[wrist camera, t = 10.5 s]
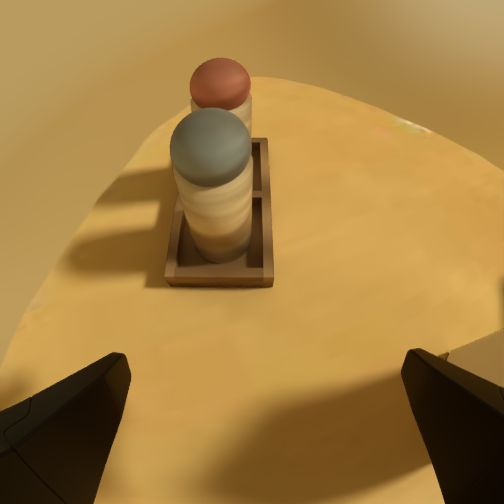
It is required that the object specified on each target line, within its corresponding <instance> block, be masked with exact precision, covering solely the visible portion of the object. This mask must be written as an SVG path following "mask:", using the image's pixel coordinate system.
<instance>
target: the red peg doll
mask: <svg viewBox="0 0 504 504" xmlns="http://www.w3.org/2000/svg"><path fill="white" fill-rule="evenodd" d="M250 88H251V81H250V77H249V75H248V73H247V71H246V70H245V68H244V67H243V66H242V65H241V64H239V63H238V62H236V61H234V60H231V59H228V58H215V59H211V60H208V61H207V62H204V63H203V64H202V65H200V66H199V67H198V68H197V69H196V70H195V72H194V73H193V75H192V78H191V81H190V93H191V96H192V99H191V110H192V112H194V111H197V110H200V109H203V108H220V109H224V110H227V111H229V112H231V113H233V114H234V115H236V116H237V117H239V118H240V119H241V120H242V122H243V123H244V124H245V126H246V127H247V129H248V131H249V134H250V137H251V122H252V96H251V94H250Z"/></svg>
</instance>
